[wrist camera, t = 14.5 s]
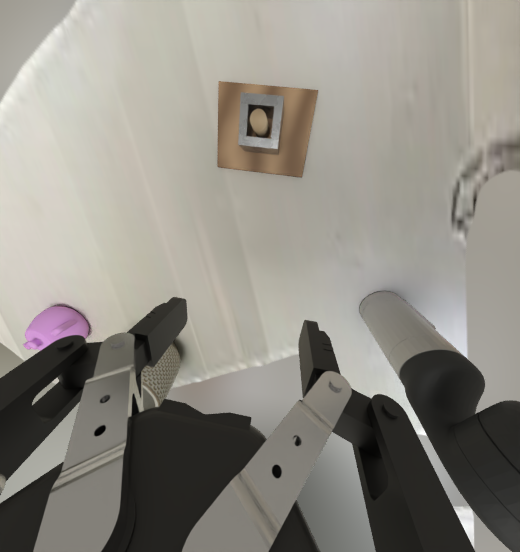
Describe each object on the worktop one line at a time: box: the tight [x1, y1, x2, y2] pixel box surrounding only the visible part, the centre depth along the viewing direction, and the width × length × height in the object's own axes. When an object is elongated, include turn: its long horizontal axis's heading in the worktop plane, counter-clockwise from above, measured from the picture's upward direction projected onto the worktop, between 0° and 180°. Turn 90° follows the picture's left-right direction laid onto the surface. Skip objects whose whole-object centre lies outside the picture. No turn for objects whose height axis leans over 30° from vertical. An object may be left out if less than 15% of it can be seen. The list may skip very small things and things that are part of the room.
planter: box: [142, 342, 181, 410], centre depth 51 cm, size 17×17×16 cm
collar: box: [238, 92, 284, 155], centre depth 29 cm, size 6×6×5 cm
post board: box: [218, 81, 318, 177], centre depth 29 cm, size 16×12×7 cm
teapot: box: [23, 306, 89, 350], centre depth 55 cm, size 14×20×11 cm
